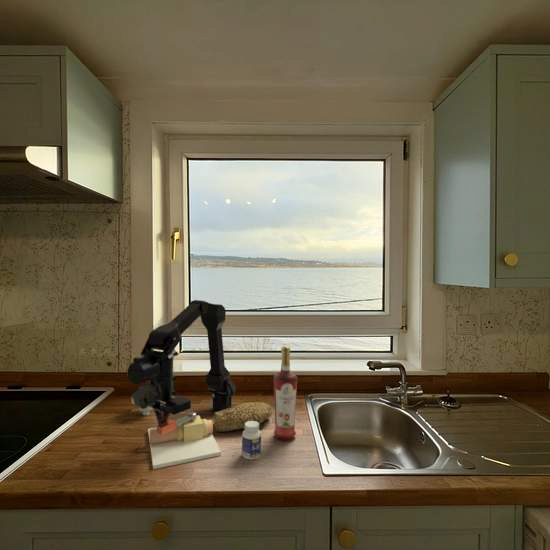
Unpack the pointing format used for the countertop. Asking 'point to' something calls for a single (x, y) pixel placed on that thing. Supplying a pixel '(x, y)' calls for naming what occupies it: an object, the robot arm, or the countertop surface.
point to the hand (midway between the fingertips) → (161, 427)
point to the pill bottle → (251, 440)
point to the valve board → (183, 443)
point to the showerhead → (146, 410)
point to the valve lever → (175, 423)
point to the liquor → (285, 398)
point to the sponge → (241, 416)
